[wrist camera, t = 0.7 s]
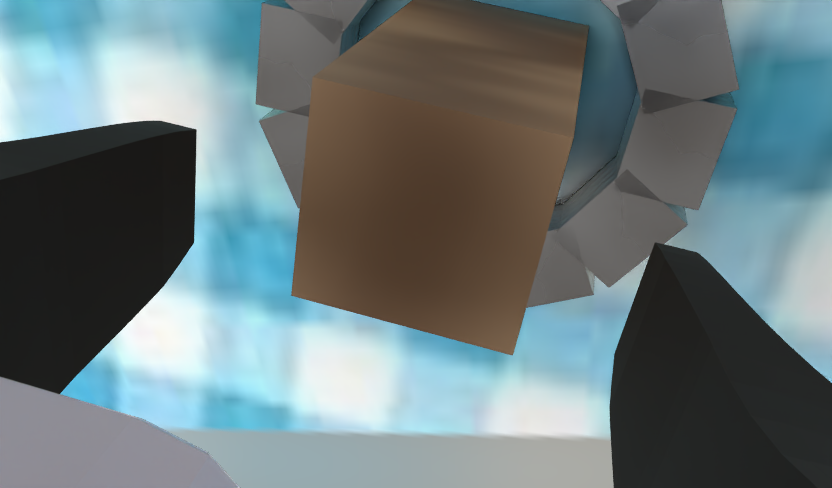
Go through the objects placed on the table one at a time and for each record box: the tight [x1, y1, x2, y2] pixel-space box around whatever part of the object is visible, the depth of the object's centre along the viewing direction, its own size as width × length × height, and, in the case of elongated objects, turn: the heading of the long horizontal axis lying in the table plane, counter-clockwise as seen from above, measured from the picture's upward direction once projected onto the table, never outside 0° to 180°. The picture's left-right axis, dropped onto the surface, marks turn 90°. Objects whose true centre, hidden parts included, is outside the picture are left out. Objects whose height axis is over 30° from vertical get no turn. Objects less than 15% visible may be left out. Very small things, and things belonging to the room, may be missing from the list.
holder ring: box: [256, 0, 739, 308], centre depth 19 cm, size 11×11×2 cm
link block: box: [291, 0, 589, 355], centre depth 16 cm, size 4×4×8 cm
